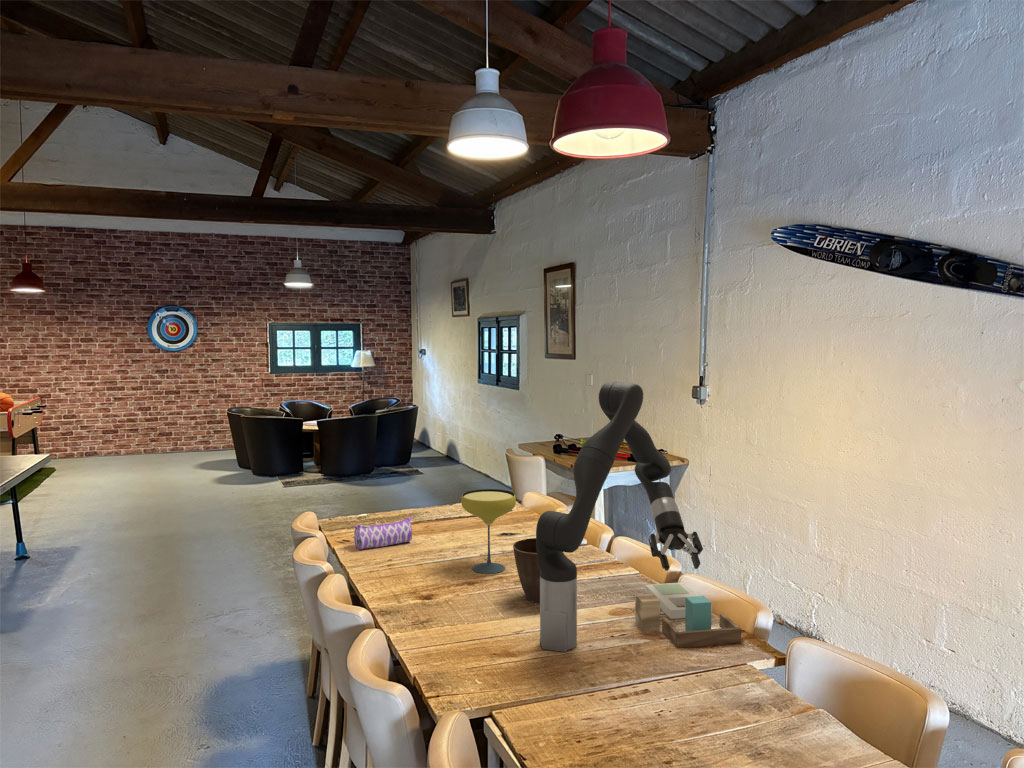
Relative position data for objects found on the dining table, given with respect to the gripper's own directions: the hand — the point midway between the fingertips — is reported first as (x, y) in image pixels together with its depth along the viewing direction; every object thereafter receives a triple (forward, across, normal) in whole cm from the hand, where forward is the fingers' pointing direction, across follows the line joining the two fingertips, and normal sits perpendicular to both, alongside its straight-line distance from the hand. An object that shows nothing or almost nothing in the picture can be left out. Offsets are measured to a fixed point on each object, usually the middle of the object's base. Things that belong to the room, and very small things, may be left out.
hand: (682, 568), depth 191 cm
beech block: (+13, -12, +7) cm, 18 cm away
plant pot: (-5, -36, +25) cm, 44 cm away
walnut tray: (+19, 0, +1) cm, 19 cm away
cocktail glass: (-26, -47, +45) cm, 70 cm away
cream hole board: (+3, +3, +16) cm, 17 cm away
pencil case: (-49, -82, +69) cm, 118 cm away
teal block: (+17, 0, +2) cm, 17 cm away
